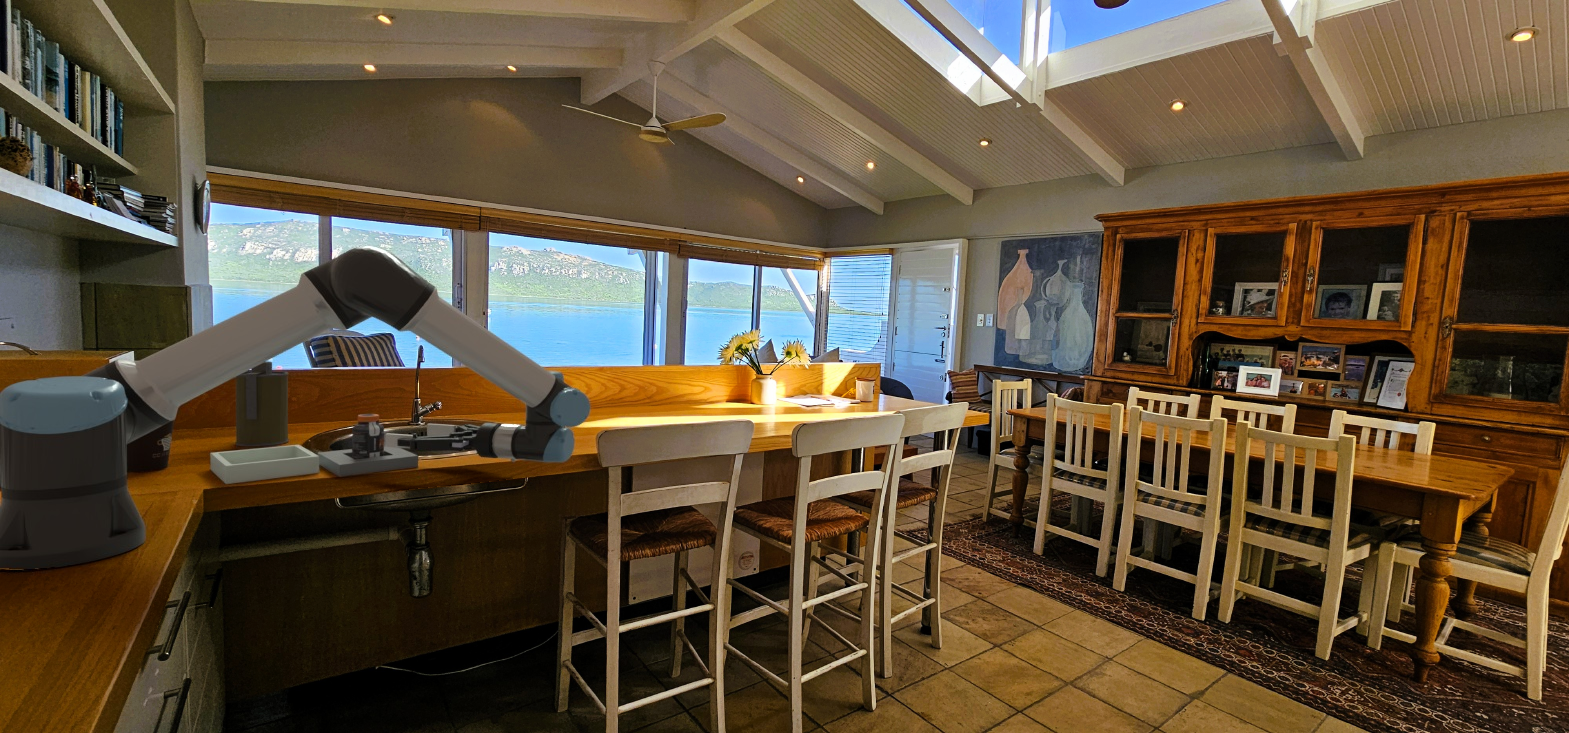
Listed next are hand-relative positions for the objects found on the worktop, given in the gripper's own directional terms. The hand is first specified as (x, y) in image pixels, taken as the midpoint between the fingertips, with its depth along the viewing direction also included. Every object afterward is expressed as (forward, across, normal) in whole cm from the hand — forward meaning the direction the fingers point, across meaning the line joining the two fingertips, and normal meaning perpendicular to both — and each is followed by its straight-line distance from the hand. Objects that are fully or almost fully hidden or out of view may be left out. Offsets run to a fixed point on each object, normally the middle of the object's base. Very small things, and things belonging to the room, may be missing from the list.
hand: (408, 434), depth 144 cm
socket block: (+9, 0, -7) cm, 12 cm away
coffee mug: (+46, -14, -8) cm, 48 cm away
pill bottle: (+9, 0, -8) cm, 12 cm away
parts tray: (+24, -11, -7) cm, 27 cm away
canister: (+48, +13, -8) cm, 50 cm away
